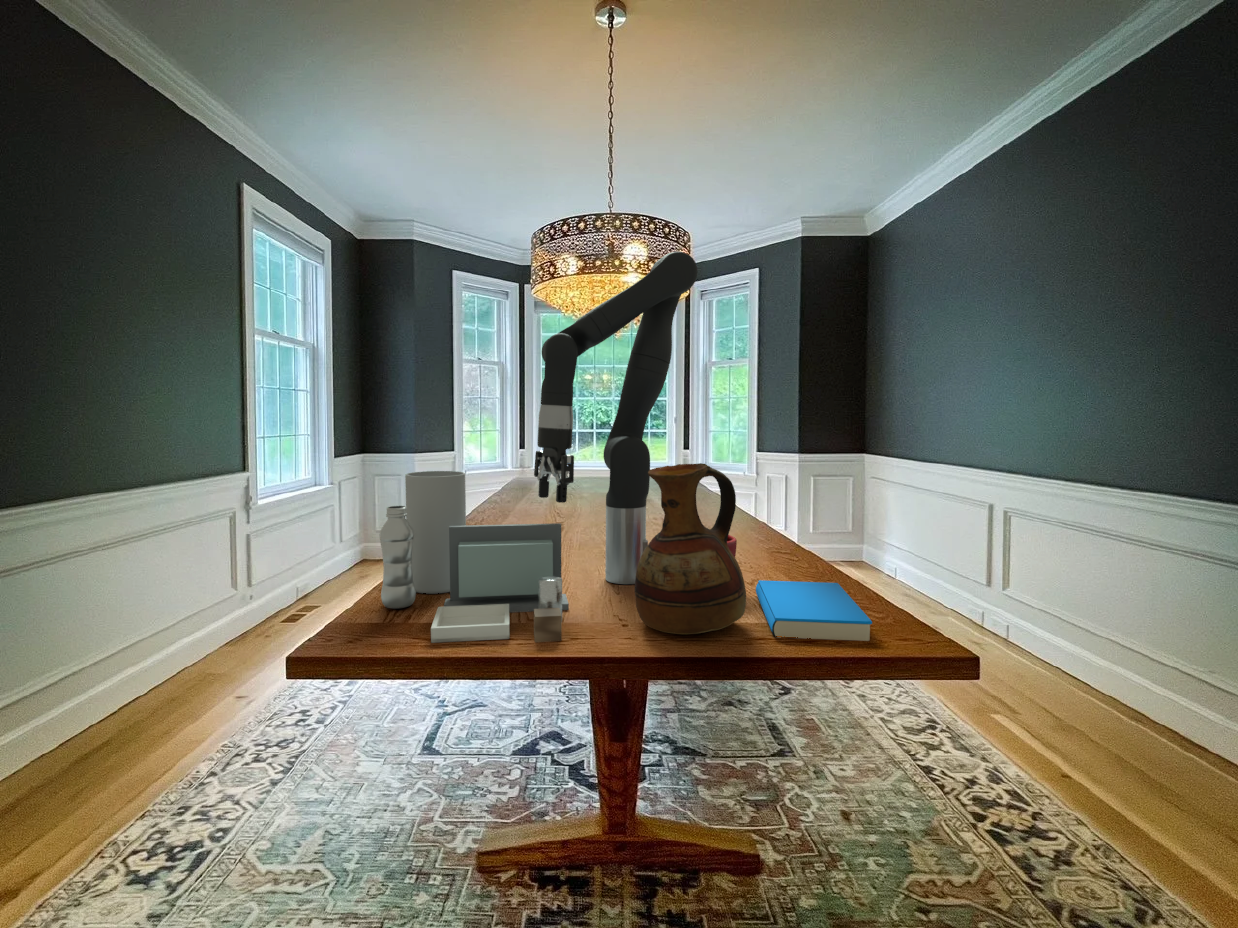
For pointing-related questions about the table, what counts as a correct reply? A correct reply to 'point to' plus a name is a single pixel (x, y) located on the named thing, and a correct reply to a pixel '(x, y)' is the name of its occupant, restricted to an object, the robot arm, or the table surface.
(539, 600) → the steel cylinder
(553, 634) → the walnut block
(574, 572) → the table surface
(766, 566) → the table surface
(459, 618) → the tray
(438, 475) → the cylinder vase
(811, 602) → the book
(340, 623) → the table surface
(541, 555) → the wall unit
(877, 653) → the table surface
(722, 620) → the ceramic pitcher
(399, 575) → the plastic bottle
